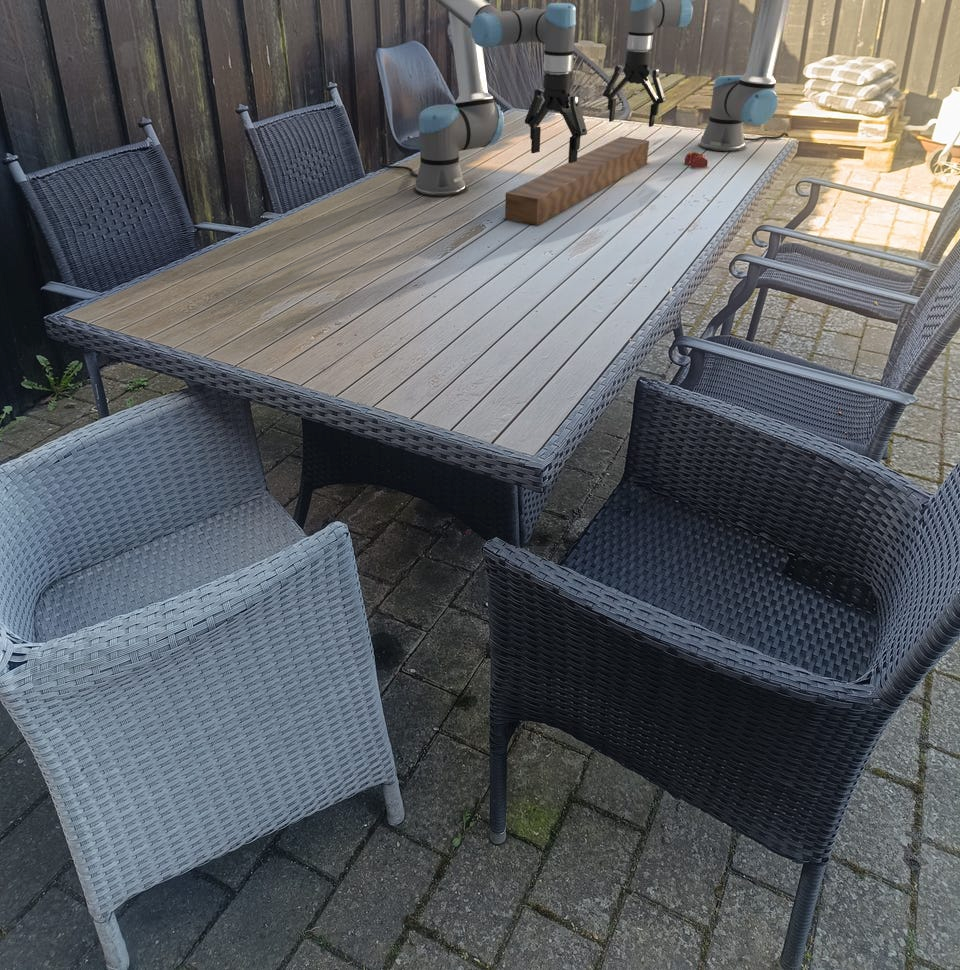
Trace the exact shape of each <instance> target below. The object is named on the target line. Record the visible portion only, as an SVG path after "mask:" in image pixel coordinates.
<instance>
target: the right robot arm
mask: <svg viewBox="0 0 960 970" xmlns="http://www.w3.org/2000/svg"><path fill="white" fill-rule="evenodd" d="M695 1H696V0H631V2H630V7H629V23H628V32H627V42H626V49H627V51H626V53H625V62H624V63H625V64H624V66H622V65H621V64H618V65H616V66H615V67H614V71H613V74H612V75H611V78H610V80H609V82H608V84H607V85H606V88H605V89H604V91H603V93H602V96H603V97H605V98H607V110H608V111H609V115H608V122H610V123H611V122H613V121H615V116H616V108H617V107H616V106H617V98H615V97H616V96H617V94H619V92H621V90H622V89H623V88H624V87H625V86H626V85H627V84H628V83H629V84H636V85H640V84H641V85H642V86H643V88H644V90H645V91H646V94H648V96H649V98H650V100H651V101H652V103H651V104H650V109H649V110H650V111H649V119H648V128H652V127H653V126H655V118H656V116H658V114H659V109H660V105H661V104H663V103H665V102H666V95H665V93H664V89H663V86H662V82H661V79H660V69H659V68H655V69H650V65H651V56H652V51H650V50H651V49H652V48H653V47H652V46H653V38H654V30H655V29H659V28H678V29H679V28H683V27H687V26H688V25H689V24H690V23H691V21H692V18H693V13H694V7H693V4H692V3H693V2H695ZM790 2H791V0H760V3H759V9H758V12H757V17H756V23H755V27H754V33H753V37H752V41H751V46H750V51H749V54H748V60H747V65H746V69H745V73H744V74H742V75H739V74H737V75H736V74H735V75H734V74H733V75H720V76H718V77H716V79H715V80H714V83H713V87H712V97H711V104H710V110H709V118H708V123H707V125H706V127H705V130H704V132H703V134H702V136H701V138H700V142H699V145H700V147H702V148H704V149H705V150H706V149H707V150H711V151H715V152H716V151H717V152H736V151H741V150H743V149H744V148H745V143H746V142H745V141H752V142H756V141H759V140H777V139H781V138H783V137H784V136H785V137H789V134H788V133H787V132H782V133H781V134H780V135H778V136H758V137H755V138H753V137H745V136H744V126H743V124H745V125H747V126H749V125H750V126H753V127H758V126H762V125H764V124H766V123H767V122H768V121H769V120H770V119H772V117H773V116H774V115H775V113H776V112H777V109H778V105H779V97H778V95H777V93H776V92H775V88H776V83H777V81H776V79H775V78H774V71H775V66H776V62H777V58H778V53H779V49H780V44H781V40H782V37H783V33H784V27H785V23H786V18H787V15H788V10H789V5H790ZM622 73H623V74H624V77H623V78H622V80H621V81H620V83H619V84H617V86H615V84H616V83H617V80H618V78H619V77H620V75H621V74H622ZM649 75H650V77H651V78H652V82H653V85H654V87H653V86H652V84H651V82H650V79H649ZM614 86H615V88H614ZM654 88H655V89H654Z"/></svg>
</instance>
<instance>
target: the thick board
mask: <svg viewBox="0 0 960 970" xmlns="http://www.w3.org/2000/svg"><path fill="white" fill-rule="evenodd" d="M649 145H650V140H647V139H640V138H634V137H627V136H619V137H618V138H615V139H613V140H611V141H609V142H607V143H605V144H603V145H601V146H599V147H597V148H595V149H593V150H591V151H589V152H587V153H585V154H582V155H580V156H577V161H576V162H573V163H568V162H566V163H563V164H562V165H559V166H557V167H556V168H554V169H551V170H549V171H547V172H546V173H544V174H541V175H539V176H537V177H535V178H533V179H531V180H529V181H527V182H525V183H523V184H521V185H518V186H517V187H515V188H513V189H511V190H508V191H506V192H505V200H504V201H505V204H504V205H505V207H504V219H505V220H508V221H513V222H518V223H522V224H528V225H533V226H536V227H537V226H538V225H540V224H542V223H543V222H546V221H547V220H549V219H551V218H553V217H554V216H556V215H558V214H560V213H561V212H563V211H565V210H566V209H569V208H570V207H572V206H574V205H575V204H577V203H579V202H581V201H583V200H585V199H587V198H588V197H590V196H592V195H593V194H595V193H597V192H599V191H600V190H602V189H604V188H605V187H607V186H609V185H611V184H614V182H617V181H618V180H621V178H624V177H626V176H627V175H629V174H631V173H632V172H634V171H636V170H638V169H639V168H641V167H643V166H644V165H646V164H648V155H649V148H650V147H649Z"/></svg>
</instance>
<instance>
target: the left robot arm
mask: <svg viewBox="0 0 960 970" xmlns="http://www.w3.org/2000/svg"><path fill="white" fill-rule="evenodd" d="M435 2H437V3H438V4H439V5H441V7H443V8H444V9H445V10H447V11H448V18H449V27H450V33H451V41H452V42H451V43H452V50H453V57H454V66H455V73H456V81H457V88H458V97H457V99H456V100H455V102H454V104H453V103H452V104H451V103H450V104H449V103H443V104H434V105H431V106H428V107H426V108H425V109H423V110H422V111H421V112H420V113H419V116H418V134H419V135H418V136H419V157H420V158H419V159H420V161H419V162H420V164H419V168H418V172H417V173H415V172H414V170H413V168H411V167H408V166H402V165H389V164H388V165H387V164H384V163H382V162H383V157H382V156H380V157H379V160H378V164H379V165H380V167H382V168H386V169H401V170H408V171H410V173H411V175H412V177H415V178H416V180H415V192H417V193H418V194H420V195H424V196H430V197H450V196H455V195H459V194H461V193H463V192H464V191H466V181H465V179H464V176H463V172H462V169H461V165H460V152H461V151H468V150H473V149H478V148H479V149H480V148H487V147H489V146H493V145H495V144H497V143H498V142H499V141H500V139H501V136H502V135H503V132H504V127H505V117H504V113H503V110H501V106H500V105H499V104H497V103H495V101H494V96H493V95H492V94H491V93H489V91H488V84H487V74H486V65H485V56H484V48H495V47H500V46H501V47H502V46H508V45H517V44H526V43H527V44H528V43H539V44H543V45H544V50H543V71H544V73H543V75H542V87H540V88H536V89H534V92H533V99H532V101H531V104H530V107H529V109H528V111H527V114H526V116H525V119H524V124H525V125H528V126H529V129H530V131H529V132H530V133H529V138H530V140H531V143H530V145H531V147H530V154H537V153H540V152H541V132H542V131H541V130H542V128H541V126H540V124H541V123H542V121H543V120H544V118H545V117H546V115H547V114H548V113H549V111H553V112H556V113H559V114H560V115H561V116H562V118H563V119H564V121H565V123H566V126H567V128H568V130H569V132H570V134H571V136H569V141H568V142H569V143H568V144H569V145H568V160H567V163H573V162H576V161H577V158H578V152H579V151H578V150H580V148H581V138H582V137H583V136H586V135H588V130H587V126H586V123H585V117H584V114H583V111H582V107H581V96H580V95H579V94H576V95H571V92H570V91H571V89H572V86H573V74H572V71H573V69H574V68H573V67H574V54H575V53H574V51H575V36H576V26H577V20H576V18H577V16H576V13H577V11H576V10H577V9H576V6H575V5H574V4H573V3H568V2H552V3H548V4H547V5H546V8H545V10H544V9H542V8H541V9H540V8H537V7H533V6H532V7H527V6H526V7H522V8H520V9H519V10H518V9H517V10H506V11H505V10H503V11H500V10H499V9H497V7H495V6H493V5H492V4H491V3H489V2H488V1H487V0H435ZM543 100H544V101H543Z"/></svg>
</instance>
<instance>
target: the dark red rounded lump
mask: <svg viewBox="0 0 960 970" xmlns="http://www.w3.org/2000/svg"><path fill="white" fill-rule="evenodd" d="M683 162H684V165H686V164H690V168H691V169H699V168H707V167H708V164H709V163H708V159H707V158H706V155H704V154H702V153H699V152H697V151H691V152H689V153H687V154H686V155H685V157H684V161H683Z"/></svg>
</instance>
